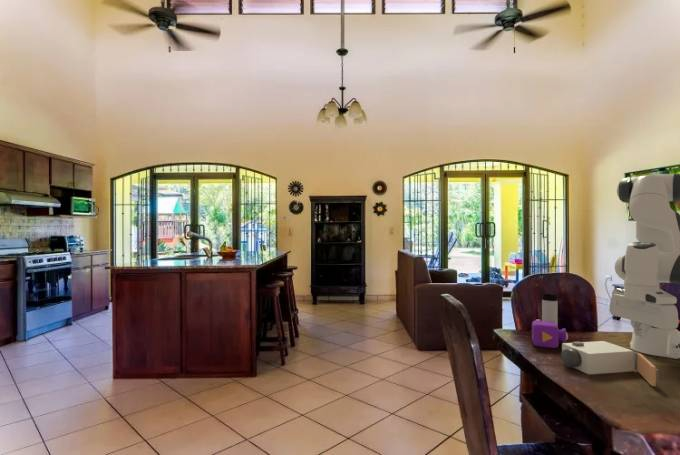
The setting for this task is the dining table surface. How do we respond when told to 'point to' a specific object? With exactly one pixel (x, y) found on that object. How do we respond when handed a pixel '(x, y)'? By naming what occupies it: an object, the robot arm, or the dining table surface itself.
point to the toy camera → (547, 334)
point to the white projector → (597, 357)
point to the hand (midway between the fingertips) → (640, 336)
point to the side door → (645, 368)
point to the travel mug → (550, 308)
